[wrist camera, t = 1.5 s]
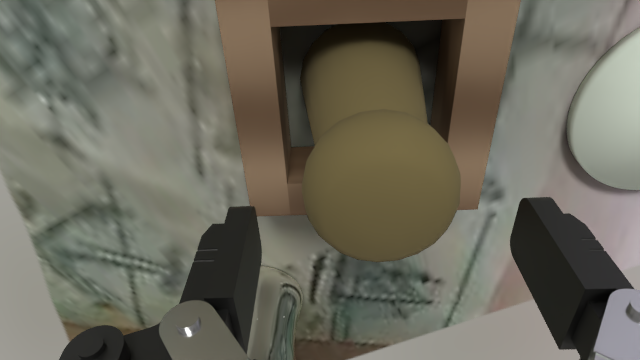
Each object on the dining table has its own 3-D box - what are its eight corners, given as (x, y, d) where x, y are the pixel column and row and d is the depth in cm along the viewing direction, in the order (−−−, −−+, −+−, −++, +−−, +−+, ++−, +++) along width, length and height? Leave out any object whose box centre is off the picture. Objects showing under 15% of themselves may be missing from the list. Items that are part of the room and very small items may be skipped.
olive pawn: (429, 115, 23) (495, 268, 14) (320, 144, 25) (319, 303, 16) (408, 1, 20) (478, 108, 11) (283, 39, 21) (255, 166, 12)
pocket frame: (226, -42, 19) (210, -26, 16) (497, -55, 19) (529, -41, 16) (259, 177, 26) (252, 216, 23) (460, 170, 26) (477, 209, 23)
